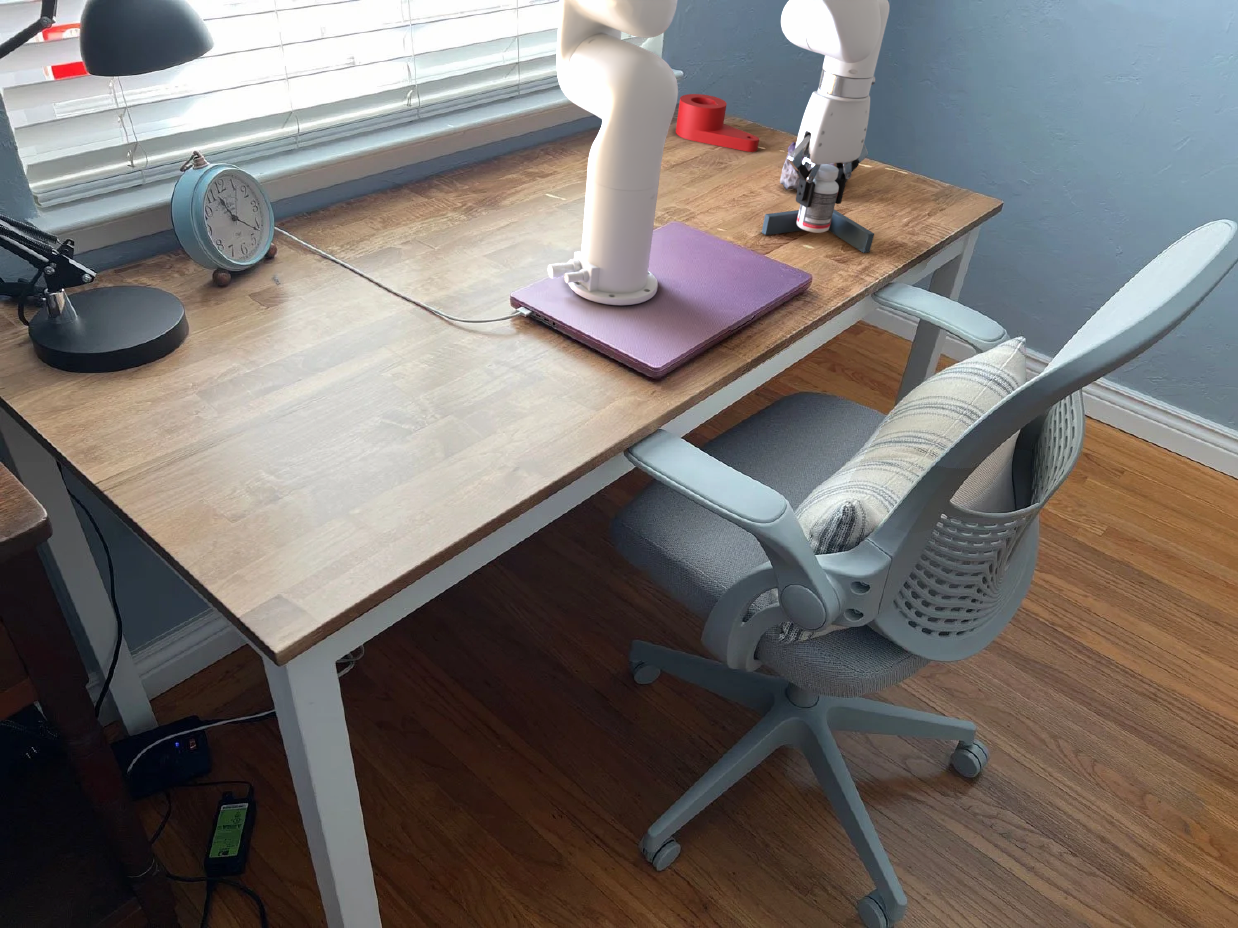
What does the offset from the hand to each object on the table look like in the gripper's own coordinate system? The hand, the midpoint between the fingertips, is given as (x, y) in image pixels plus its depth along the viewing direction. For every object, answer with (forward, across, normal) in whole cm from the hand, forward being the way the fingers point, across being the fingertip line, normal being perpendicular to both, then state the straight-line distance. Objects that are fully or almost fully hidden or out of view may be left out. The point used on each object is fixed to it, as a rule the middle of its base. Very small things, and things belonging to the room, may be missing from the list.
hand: (818, 201), depth 151 cm
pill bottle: (+4, 0, 0) cm, 4 cm away
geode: (+6, -18, -22) cm, 29 cm away
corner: (+6, 0, +2) cm, 7 cm away
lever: (+6, -12, -47) cm, 49 cm away
